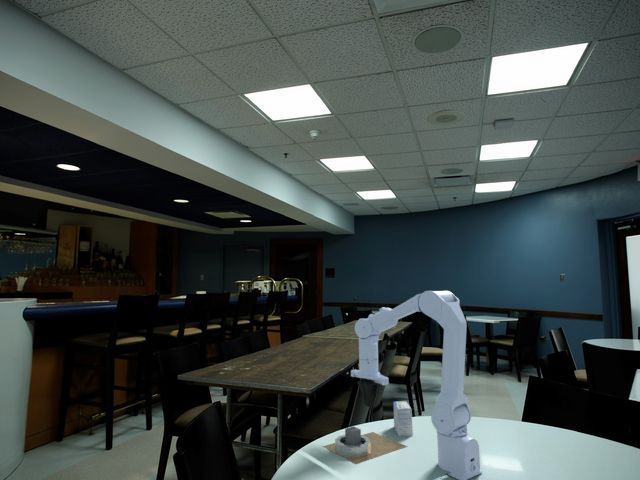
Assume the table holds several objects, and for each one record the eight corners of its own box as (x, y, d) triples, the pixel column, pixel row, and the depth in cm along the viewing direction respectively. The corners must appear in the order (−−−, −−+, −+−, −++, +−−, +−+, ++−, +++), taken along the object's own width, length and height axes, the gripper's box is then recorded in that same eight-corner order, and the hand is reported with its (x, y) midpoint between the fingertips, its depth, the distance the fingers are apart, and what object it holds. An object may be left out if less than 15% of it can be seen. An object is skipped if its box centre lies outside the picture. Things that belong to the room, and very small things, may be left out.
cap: (367, 450, 108) (367, 429, 109) (352, 456, 105) (352, 434, 105) (353, 444, 112) (353, 424, 113) (338, 449, 109) (338, 428, 110)
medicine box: (413, 438, 119) (412, 408, 120) (398, 438, 119) (397, 408, 120) (407, 429, 127) (407, 401, 128) (393, 429, 127) (393, 401, 128)
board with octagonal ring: (407, 449, 111) (407, 437, 111) (355, 467, 100) (355, 453, 100) (372, 434, 122) (372, 423, 122) (323, 449, 111) (322, 436, 111)
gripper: (395, 360, 117) (396, 409, 115) (362, 354, 128) (363, 397, 127) (378, 363, 113) (379, 413, 111) (345, 356, 124) (346, 401, 123)
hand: (369, 405), depth 119 cm, fingers closed
